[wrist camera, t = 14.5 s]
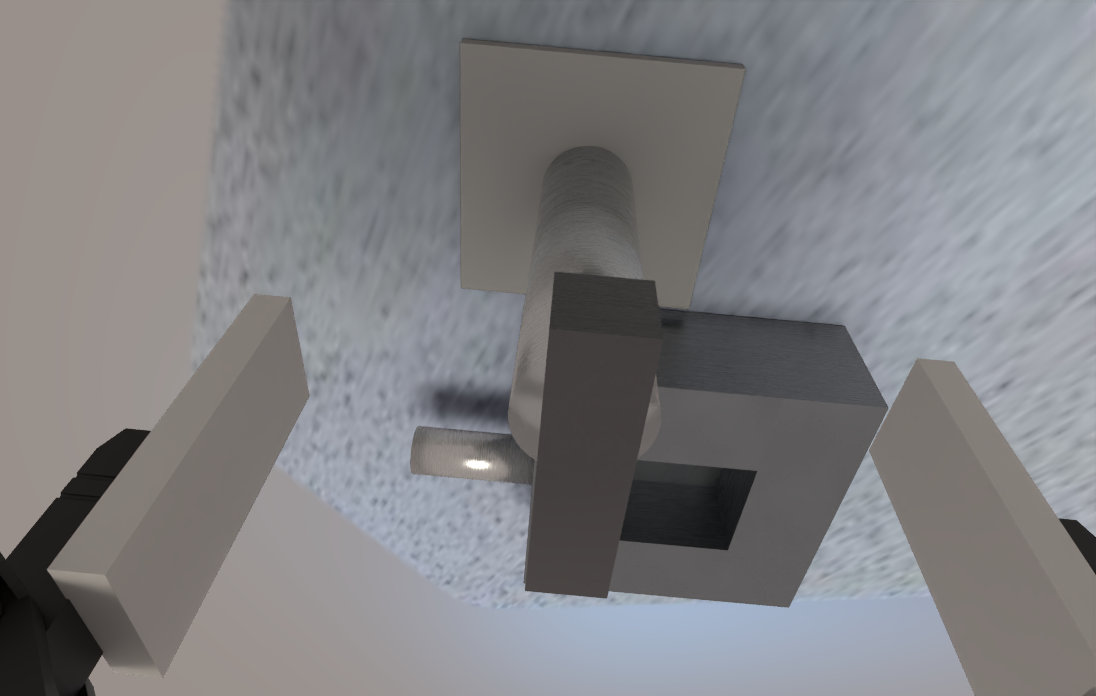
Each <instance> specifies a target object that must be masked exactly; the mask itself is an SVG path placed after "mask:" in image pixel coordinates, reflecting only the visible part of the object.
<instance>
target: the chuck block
mask: <svg viewBox="0 0 1096 696" xmlns="http://www.w3.org/2000/svg"><path fill="white" fill-rule="evenodd" d="M659 312H660V319H661V326H662V333H663V344H662V348H661V353H660V357H659V362H658V366H657V371H656V378H657V386H658V394H659V403H660V411H661V424H660V429H659V432H658V435H657V437H656V439H655V441H654V442H653V444H652V445H651V446H650V448H649V449H648V450H647V451H646V452H645V453H644V454H643V455H642V456H640V457H639V458H638V459H637V463H636V467H635V472H634V476H633V481H632V486H631V490H630V495H629V499H628V504H627V509H626V513H625V518H624V522H623V527H622V531H621V536H620V541H619V545H618V550H617V554H616V559H615V564H614V568H613V573H612V577H611V582H610V586H609V591H613V592H624V593H635V594H646V595H657V596H668V597H679V598H690V599H701V600H712V601H723V602H734V603H745V604H757V605H767V606H778V607H789V606H790V604H791V602H792V600H793V598H794V596H795V594H796V592H797V590H798V588H799V586H800V584H801V582H802V580H803V578H804V576H805V574H806V572H807V570H808V568H809V566H810V564H811V562H812V560H813V558H814V556H815V554H816V552H817V550H818V548H819V546H820V544H821V542H822V540H823V538H824V536H825V534H826V532H827V530H828V528H829V526H830V524H831V522H832V520H833V518H834V516H835V514H836V512H837V510H838V508H839V506H840V504H841V502H842V500H843V498H844V496H845V494H846V492H847V490H848V488H849V486H850V484H851V482H852V480H853V478H854V476H855V474H856V472H857V470H858V468H859V466H860V464H861V462H862V460H863V458H864V456H865V454H866V452H867V450H868V448H869V446H870V444H871V442H872V440H873V438H874V436H875V434H876V432H877V430H878V428H879V426H880V424H881V422H882V420H883V418H884V416H885V414H886V412H887V410H888V406H887V404H886V402H885V400H884V399H883V397H882V395H881V393H880V391H879V389H878V387H877V386H876V384H875V382H874V380H873V378H872V376H871V374H870V372H869V371H868V369H867V367H866V365H865V363H864V361H863V359H862V358H861V356H860V354H859V352H858V350H857V348H856V346H855V344H854V343H853V341H852V339H851V337H850V335H849V333H848V331H847V329H846V328H845V326H837V325H827V324H816V323H805V322H794V321H783V320H772V319H761V318H750V317H739V316H728V315H718V314H707V313H696V312H685V311H674V310H663V309H659ZM536 465H537V461H536V460H534V459H533V458H531V457H530V456H529V455H527V454H526V453H525V452H524V451H523V450H522V449H521V448H520V446H519V445H518V444H517V443H516V441H515V439H514V438H513V436H512V434H501V433H490V432H479V431H469V430H458V429H447V428H436V427H425V426H417V428H416V430H415V433H414V437H413V442H412V449H411V461H410V466H411V473H412V474H418V475H429V476H440V477H451V478H462V479H473V480H484V481H495V482H506V483H516V484H527V485H532V494H531V505H530V516H529V528H528V539H527V550H526V561H525V573H524V583H525V584H526V574H527V563H528V552H529V541H530V530H531V519H532V508H533V497H534V487H535V476H536Z"/></svg>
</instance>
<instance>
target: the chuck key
mask: <svg viewBox="0 0 1096 696" xmlns="http://www.w3.org/2000/svg"><path fill="white" fill-rule="evenodd" d="M662 344H663V333H662V326H661V319H660V312H659V305H658V299H657V292H656V285H655V281H653V280H644V272H643V264H642V256H641V247H640V239H639V231H638V223H637V215H636V207H635V198H634V190H633V183H632V177H631V175H630V172H629V170H628V168H627V166H626V165H625V163H624V162H623V161H622V160H621V159H620V158H619V157H618V156H617V155H615V154H614V153H612V152H611V151H609V150H606V149H604V148H601V147H596V146H580V147H575V148H572V149H570V150H567V151H565V152H564V153H562V154H561V155H559V156H558V157H557V158H556V159H555V160H554V161H553V162H552V163H551V164H550V166H549V167H548V169H547V171H546V173H545V175H544V179H543V184H542V190H541V197H540V203H539V210H538V217H537V223H536V230H535V236H534V243H533V250H532V256H531V263H530V269H529V276H528V283H527V289H526V296H525V302H524V309H523V316H522V322H521V329H520V335H519V342H518V348H517V355H516V362H515V368H514V375H513V381H512V388H511V395H510V401H509V408H508V424H509V429H510V431H511V434H512V436H513V438H514V439H515V441H516V443H517V444H518V445H519V446H520V448H521V449H522V450H523V451H524V452H525V453H526V454H527V455H529V456H530V457H531V458H533V459H534V460H536V461H537V465H536V476H535V487H534V497H533V508H532V519H531V530H530V541H529V552H528V563H527V574H526V584H525V591H532V592H543V593H554V594H565V595H575V596H586V597H597V598H607V596H608V591H609V586H610V582H611V577H612V573H613V568H614V564H615V559H616V554H617V550H618V545H619V541H620V536H621V531H622V527H623V522H624V518H625V513H626V509H627V504H628V499H629V495H630V490H631V486H632V481H633V476H634V472H635V467H636V463H637V459H638V458H639V457H640V456H642V455H643V454H644V453H645V452H646V451H647V450H648V449H649V448H650V446H651V445H652V444H653V442H654V441H655V439H656V437H657V435H658V432H659V429H660V424H661V411H660V403H659V394H658V386H657V378H656V371H657V366H658V362H659V357H660V353H661V348H662Z"/></svg>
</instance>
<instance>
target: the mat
mask: <svg viewBox="0 0 1096 696" xmlns="http://www.w3.org/2000/svg"><path fill="white" fill-rule="evenodd" d="M745 71H746V69H745V67H744V66H743V65H742V64H732V63H721V62H710V61H699V60H688V59H677V58H667V57H656V56H645V55H634V54H623V53H612V52H602V51H591V50H580V49H569V48H558V47H547V46H537V45H526V44H515V43H504V42H493V41H482V40H471V39H462V41H461V42H460V184H461V288H463V289H474V290H485V291H496V292H507V293H517V294H526V289H527V283H528V276H529V269H530V263H531V256H532V250H533V243H534V236H535V230H536V223H537V217H538V210H539V203H540V197H541V190H542V184H543V179H544V175H545V173H546V171H547V169H548V167H549V166H550V164H551V163H552V162H553V161H554V160H555V159H556V158H557V157H558V156H559V155H561V154H562V153H564V152H565V151H567V150H570V149H572V148H575V147H580V146H596V147H601V148H604V149H606V150H609V151H611V152H612V153H614V154H615V155H617V156H618V157H619V158H620V159H621V160H622V161H623V162H624V163H625V165H626V166H627V168H628V170H629V172H630V175H631V177H632V183H633V190H634V198H635V207H636V215H637V223H638V231H639V239H640V247H641V256H642V264H643V272H644V280H653V281H655V285H656V292H657V299H658V305H659V307H670V308H681V309H689V307H690V303H691V299H692V294H693V290H694V286H695V282H696V277H697V273H698V269H699V265H700V261H701V256H702V252H703V248H704V244H705V240H706V235H707V231H708V227H709V223H710V219H711V214H712V210H713V206H714V202H715V197H716V193H717V189H718V185H719V181H720V176H721V172H722V168H723V164H724V160H725V155H726V151H727V147H728V143H729V139H730V134H731V130H732V126H733V122H734V117H735V113H736V109H737V105H738V101H739V96H740V92H741V88H742V84H743V80H744V75H745Z"/></svg>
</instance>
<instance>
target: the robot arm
mask: <svg viewBox="0 0 1096 696" xmlns="http://www.w3.org/2000/svg"><path fill="white" fill-rule="evenodd" d="M308 398H309V390H308V385H307V380H306V375H305V370H304V364H303V359H302V354H301V349H300V344H299V338H298V333H297V328H296V323H295V318H294V312H293V307H292V302H291V298H290V297H280V296H269V295H259V294H254V295H253V296H252V298H251V299H250V300H249V302H248V303H247V304H246V306H245V307H244V308H243V310H242V311H241V312H240V314H239V315H238V316H237V318H236V319H235V320H234V322H233V323H232V324H231V326H230V327H229V328H228V330H227V331H226V332H225V334H224V335H223V336H222V338H221V339H220V340H219V342H218V343H217V344H216V346H215V347H214V348H213V350H212V351H211V352H210V354H209V355H208V356H207V358H206V359H205V360H204V361H203V363H202V364H201V365H200V367H199V368H198V369H197V371H196V372H195V373H194V375H193V376H192V377H191V379H190V380H189V381H188V383H187V384H186V385H185V387H184V388H183V389H182V391H181V392H180V393H179V395H178V396H177V397H176V399H175V400H174V401H173V403H172V404H171V405H170V407H169V408H168V409H167V411H166V412H165V414H164V415H163V416H162V417H161V419H160V420H159V421H158V423H157V424H156V425H155V427H154V428H153V429H152V431H146V430H136V429H124V430H123V431H121V432H120V433H119V434H117V435H116V436H114V437H113V438H111V439H110V440H108V441H107V442H106V443H104V444H103V445H101V446H100V447H98V448H97V449H96V450H95V451H94V453H93V454H92V455H91V456H90V458H89V459H88V460H87V461H86V463H85V464H84V465H83V466H82V467H81V468H80V470H79V471H78V472H77V477H76V478H73V479H71V481H70V482H69V483H68V484H67V486H66V487H65V488H64V489H63V490H62V492H61V496H60V498H56V499H55V500H54V501H53V503H52V504H51V505H50V506H49V507H48V509H47V510H46V511H45V512H44V514H43V515H42V516H41V517H40V518H39V520H38V521H37V522H36V523H35V525H34V526H33V527H32V528H31V529H30V531H29V532H28V533H27V534H26V536H25V537H24V538H23V539H22V541H21V542H20V543H19V544H18V545H17V547H16V548H15V549H14V550H13V551H12V553H11V554H10V555H9V556H8V557H7V559H6V560H5V558H4V557H3V555H2V554H1V553H0V696H95V692H94V687H93V685H92V683H91V682H90V680H89V678H88V677H89V675H90V674H91V672H92V670H93V669H94V667H95V666H96V664H97V662H98V660H99V659H100V657H101V655H103V657H104V658H105V660H106V661H107V663H108V664H109V666H110V667H111V669H112V670H113V672H114V673H118V674H128V675H137V676H147V677H157V678H163V677H164V675H165V673H166V671H167V669H168V667H169V666H170V664H171V662H172V660H173V658H174V656H175V654H176V652H177V650H178V648H179V646H180V644H181V642H182V641H183V639H184V637H185V635H186V633H187V631H188V629H189V627H190V625H191V623H192V621H193V619H194V617H195V616H196V614H197V612H198V610H199V608H200V606H201V604H202V602H203V600H204V598H205V596H206V594H207V592H208V590H209V588H210V587H211V585H212V583H213V581H214V579H215V577H216V575H217V573H218V571H219V569H220V567H221V565H222V563H223V562H224V560H225V558H226V556H227V554H228V552H229V550H230V548H231V546H232V544H233V542H234V540H235V538H236V536H237V534H238V532H239V531H240V529H241V527H242V525H243V523H244V521H245V519H246V517H247V515H248V513H249V512H250V510H251V508H252V506H253V504H254V502H255V500H256V498H257V496H258V494H259V492H260V490H261V488H262V486H263V485H264V483H265V481H266V479H267V477H268V475H269V473H270V471H271V469H272V467H273V465H274V463H275V461H276V460H277V458H278V456H279V454H280V452H281V450H282V448H283V446H284V444H285V442H286V440H287V438H288V436H289V434H290V433H291V431H292V429H293V427H294V425H295V423H296V421H297V419H298V417H299V415H300V413H301V411H302V409H303V407H304V406H305V404H306V402H307V400H308ZM869 452H870V454H871V456H872V459H873V461H874V463H875V466H876V468H877V470H878V472H879V475H880V477H881V479H882V482H883V484H884V486H885V489H886V491H887V493H888V496H889V498H890V500H891V503H892V505H893V507H894V510H895V512H896V514H897V516H898V519H899V521H900V523H901V526H902V528H903V530H904V533H905V535H906V537H907V540H908V542H909V544H910V547H911V549H912V551H913V554H914V556H915V558H916V560H917V563H918V565H919V567H920V570H921V572H922V574H923V577H924V579H925V581H926V584H927V586H928V588H929V591H930V593H931V595H932V597H933V600H934V602H935V604H936V607H937V609H938V611H939V613H940V616H941V618H942V620H943V623H944V625H945V628H946V630H947V632H948V635H949V637H950V639H951V641H952V644H953V646H954V648H955V651H956V653H957V655H958V658H959V660H960V662H961V665H962V667H963V669H964V672H965V674H966V676H967V678H968V681H969V683H970V685H971V688H972V690H973V692H974V694H975V696H1096V537H1095V536H1094V535H1093V534H1092V533H1090V532H1089V531H1088V530H1087V529H1086V528H1085V527H1084V526H1082V525H1081V524H1080V523H1079V522H1078V521H1077V520H1069V519H1058V517H1057V516H1056V514H1055V513H1054V511H1053V510H1052V508H1051V507H1050V505H1049V504H1048V502H1047V501H1046V499H1045V498H1044V496H1043V495H1042V493H1041V492H1040V490H1039V489H1038V487H1037V486H1036V484H1035V483H1034V481H1033V480H1032V478H1031V477H1030V475H1029V474H1028V472H1027V471H1026V469H1025V468H1024V466H1023V465H1022V463H1021V462H1020V460H1019V459H1018V457H1017V456H1016V454H1015V453H1014V451H1013V450H1012V448H1011V447H1010V445H1009V444H1008V442H1007V441H1006V439H1005V438H1004V436H1003V435H1002V433H1001V432H1000V430H999V429H998V427H997V426H996V424H995V423H994V421H993V420H992V418H991V417H990V415H989V414H988V412H987V411H986V409H985V408H984V406H983V405H982V403H981V402H980V400H979V399H978V397H977V396H976V394H975V393H974V391H973V390H972V388H971V387H970V385H969V384H968V382H967V381H966V379H965V378H964V376H963V375H962V373H961V371H960V370H959V368H958V367H957V365H956V364H955V362H950V361H940V360H929V359H919V358H917V360H916V362H915V364H914V366H913V368H912V369H911V371H910V373H909V375H908V377H907V379H906V381H905V383H904V385H903V387H902V389H901V390H900V392H899V394H898V396H897V398H896V400H895V402H894V404H893V406H892V408H891V410H890V411H889V413H888V415H887V417H886V419H885V421H884V423H883V425H882V427H881V429H880V431H879V433H878V434H877V436H876V438H875V440H874V442H873V444H872V446H871V448H870V450H869Z"/></svg>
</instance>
